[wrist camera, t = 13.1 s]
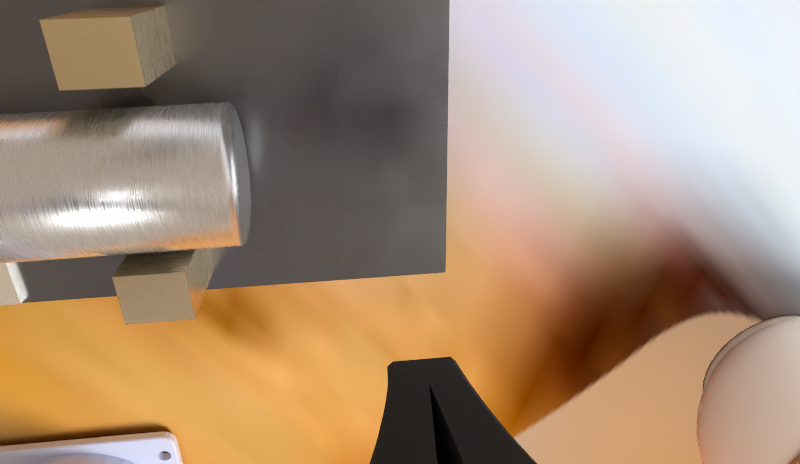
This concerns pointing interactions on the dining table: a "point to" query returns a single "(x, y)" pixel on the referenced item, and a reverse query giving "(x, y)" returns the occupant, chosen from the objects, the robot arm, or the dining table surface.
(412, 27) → the plate
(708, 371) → the lidded jar
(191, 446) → the dining table surface
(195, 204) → the tube
